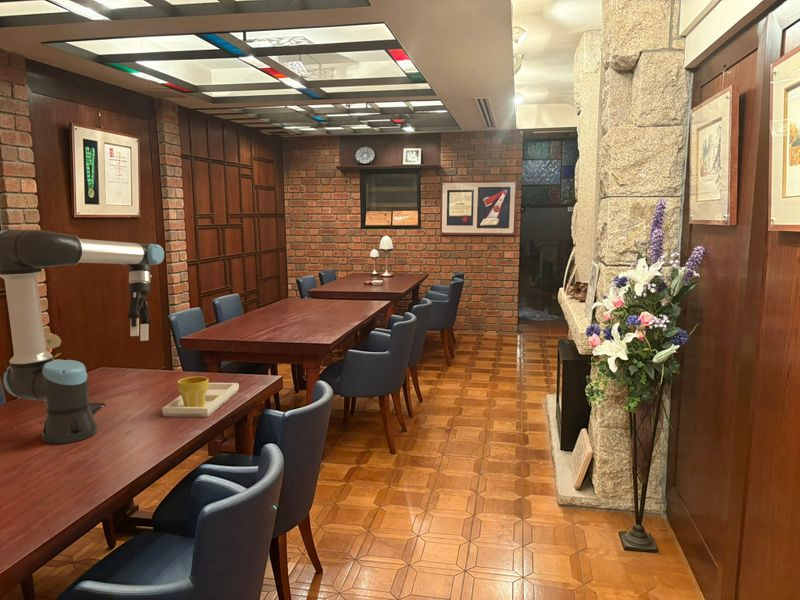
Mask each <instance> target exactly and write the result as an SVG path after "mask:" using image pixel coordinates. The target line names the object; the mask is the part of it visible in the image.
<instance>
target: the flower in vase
mask: <svg viewBox="0 0 800 600" xmlns="http://www.w3.org/2000/svg"><path fill="white" fill-rule="evenodd" d="M44 337H45V345H46V351H47V352H49V349H56V348H59V347H60V346H61V344H62V339H61V338H60V336H58V335H57V334H56V333H55V334H53V333H52V332H49V333H48V332H44ZM62 352H63V351H62ZM62 352H58V353H56V354H55V355H54V356H52V357H53V361H56V360H57V359H55V358H57V357H59V356H60V355H61V354H62Z"/></svg>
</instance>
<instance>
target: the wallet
mask: <svg viewBox="0 0 800 600" xmlns="http://www.w3.org/2000/svg"><path fill="white" fill-rule="evenodd" d="M106 404H107V403H105V404H104V402H89V408H90V411H91V413H92V415H94V414H95V413H96V412H97V411H98V410H99V411H101V410H100V408H102V407H100V406H102V405H104V407H106V406H107V405H106ZM105 405H106V406H105ZM102 409H103V408H102ZM99 411H98V412H99ZM98 412H97V413H98ZM97 413H96V414H97ZM96 414H95V415H96ZM95 415H94V416H95ZM45 421H46V419H44V420H42V421H41V422H40V423H39V424H40V425H42V424H41V423H45Z"/></svg>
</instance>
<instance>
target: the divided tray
mask: <svg viewBox="0 0 800 600" xmlns="http://www.w3.org/2000/svg"><path fill="white" fill-rule="evenodd" d="M239 387H240V386H239V383H238V382H209V388H208V389H207V392H206V398H205V404H204V406H203V407H185V406H184V403H183V399H182V396H181V394H180V395H179V396H178V397H176V398H175V399H174V400H172V401H170V402H168V404H166V405H165V406H163V407H162V408H161V409H162V411H161V412H162V417H179V418H180V417H183V418H184V417H186V418H187V417H188V418H190V417H191V418H209V417H210V416H211V415H212V414H214V412H216V411H217V410H218V409H220V408H221V406H222V405H223V403H224V404H225V403H226V402H227V401H229V400H230V399H231V398H232V397H233V396H234V395H235V394H237V393H238V392H239V391H238V390H240V388H239ZM237 391H238V392H237ZM230 397H231V398H230Z"/></svg>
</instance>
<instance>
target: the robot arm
mask: <svg viewBox="0 0 800 600" xmlns="http://www.w3.org/2000/svg"><path fill="white" fill-rule="evenodd" d="M164 259H165V251H164V249H163V247H162V246H161V245H160V244H154V243H139V242H138V243H137V242H136V243H135V242H125V241H115V240H113V241H112V240H102V239H101V240H99V239H89V238H88V239H87V238H79V237H78V236H76V235H74V234H66V233H65V234H64V233H60V232H53V231H49V230H48V231H47V230H42V229H15V228H13V229H12V228H11V229H6V230H5V229H4V230H0V278H1V279H3V280H4V286H5V287H4V288H5V293H6V302H7V308H8V309H7V310H8V317H9V324H10V332H11V333H10V334H11V339H12V347H13V356H12V357H11V358H10V359H9V366H7V368H6V371H5V372H4V374H3V385H4V388H5V390H6V391H7V392H8V393H9V394H10V395H11V396H13V397H16V398H19V399H22V400H27V401H28V400H29V401H30V400H31V401H39V402H44V403H45V407H46V418H45V420H46V421H45V424H43V429H42V431H41V432H42V433H41V436H42V441H43V442H44V443H46V444H51V445H61V444H62V445H63V444H69V443H74V442H80V441H82V440H86V439H88V438H91V437H92V436H95V435H96V434H97V433H98V423H97V421H96V419H95V417H94V416H93V415H92V413H91V411H90V408H89V403H90V398H89V385H88V384H89V383H88V381H89V380H88V373H87V368H86V366H85V364H84V363H83V362H82V361H81V362H80V361H77V360H73V359H66V360H64V359H55V360H56V361H53V359H54V358H53V357H54V356H53V354H51V353H50V352H49V351H48V352H47V347H46V345H45V337H44V333H45V332H44V331H45V329H44V322H43V314H42V306H41V299H40V291H39V290H40V289H39V282H38V277H39V276H40V275H41V274H42V273H43V269H45V268H52V267H60V266H61V267H62V266H75V265H77V264H79V263H80V264H81V263H83V264H87V263H88V264H118V265H121V266H126V267H128V283H129V285H128V293H129V295H130V296H131V297H130V302H129V303H130V304H129V309H128V314H127V318H128V319H130V320H129V321H130V322H129V323H130V325H129V326H130V328H129V329H130V330H129V331H130V332H129V333H130V334H129V335H130V337H139V335H140V337H139V338H140V341H141V342H145V341H149V325H151V323H152V322H151V320H150V314H149V313H150V311H149V304H148V302H149V299H147V298H146V296H147V295H150V294H151V284H150V283H151V278H152V277H153V276H152V274H151V266H155V265H156V266H157V265H160V264H161V263H163V261H164ZM139 318H140V319H139ZM139 320H140V321H139ZM139 322H140V323H139ZM139 326H140V327H139Z"/></svg>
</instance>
